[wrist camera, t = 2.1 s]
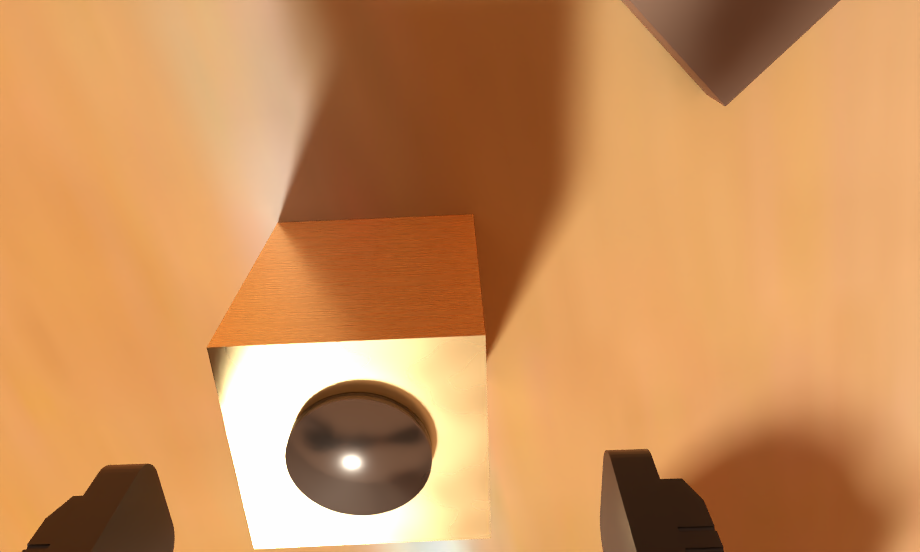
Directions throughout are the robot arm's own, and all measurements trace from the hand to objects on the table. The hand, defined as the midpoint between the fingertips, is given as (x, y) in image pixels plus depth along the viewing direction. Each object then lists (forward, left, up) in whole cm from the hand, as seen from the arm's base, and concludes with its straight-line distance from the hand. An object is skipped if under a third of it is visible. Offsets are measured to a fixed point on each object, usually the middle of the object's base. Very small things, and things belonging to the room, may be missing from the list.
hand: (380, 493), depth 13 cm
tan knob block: (0, 0, -7) cm, 7 cm away
